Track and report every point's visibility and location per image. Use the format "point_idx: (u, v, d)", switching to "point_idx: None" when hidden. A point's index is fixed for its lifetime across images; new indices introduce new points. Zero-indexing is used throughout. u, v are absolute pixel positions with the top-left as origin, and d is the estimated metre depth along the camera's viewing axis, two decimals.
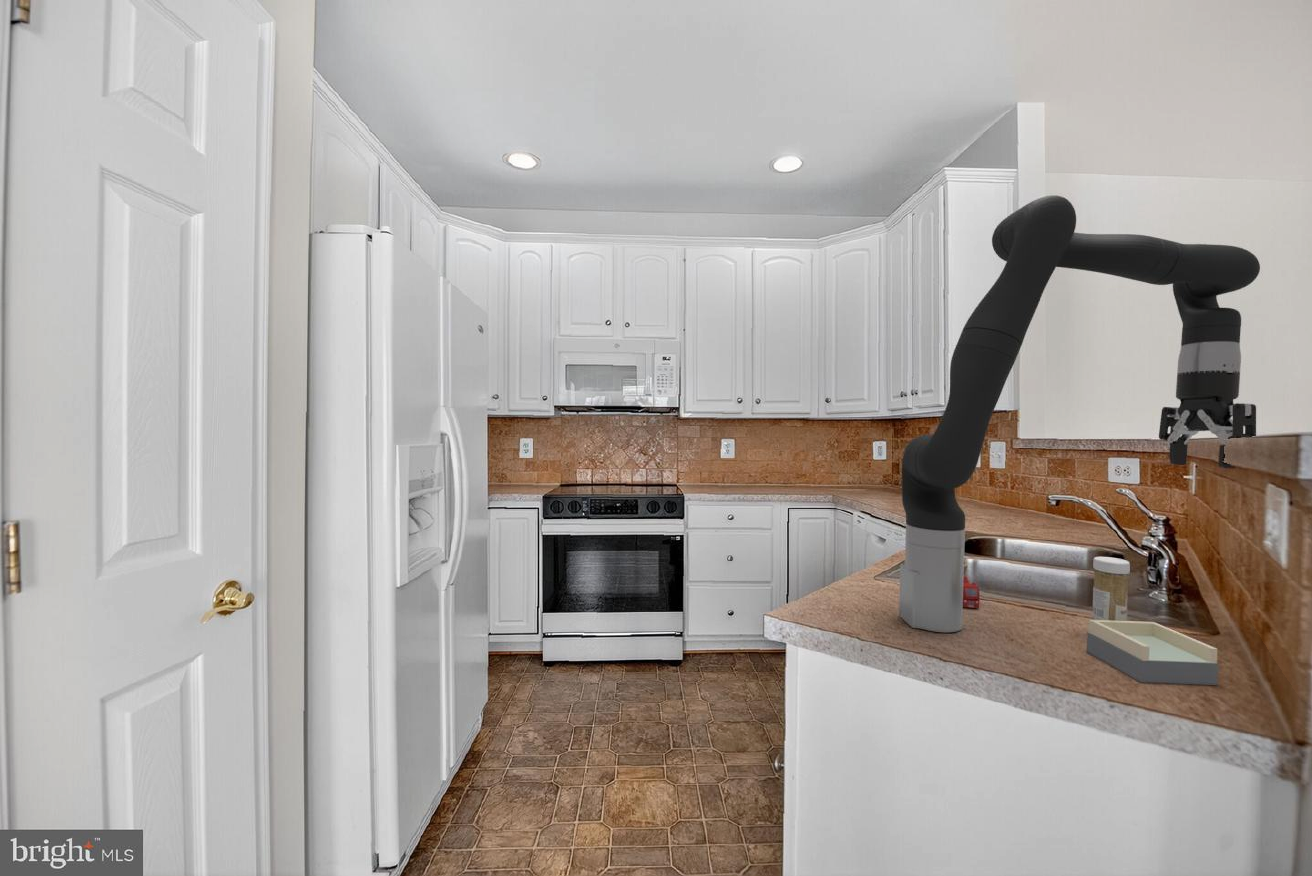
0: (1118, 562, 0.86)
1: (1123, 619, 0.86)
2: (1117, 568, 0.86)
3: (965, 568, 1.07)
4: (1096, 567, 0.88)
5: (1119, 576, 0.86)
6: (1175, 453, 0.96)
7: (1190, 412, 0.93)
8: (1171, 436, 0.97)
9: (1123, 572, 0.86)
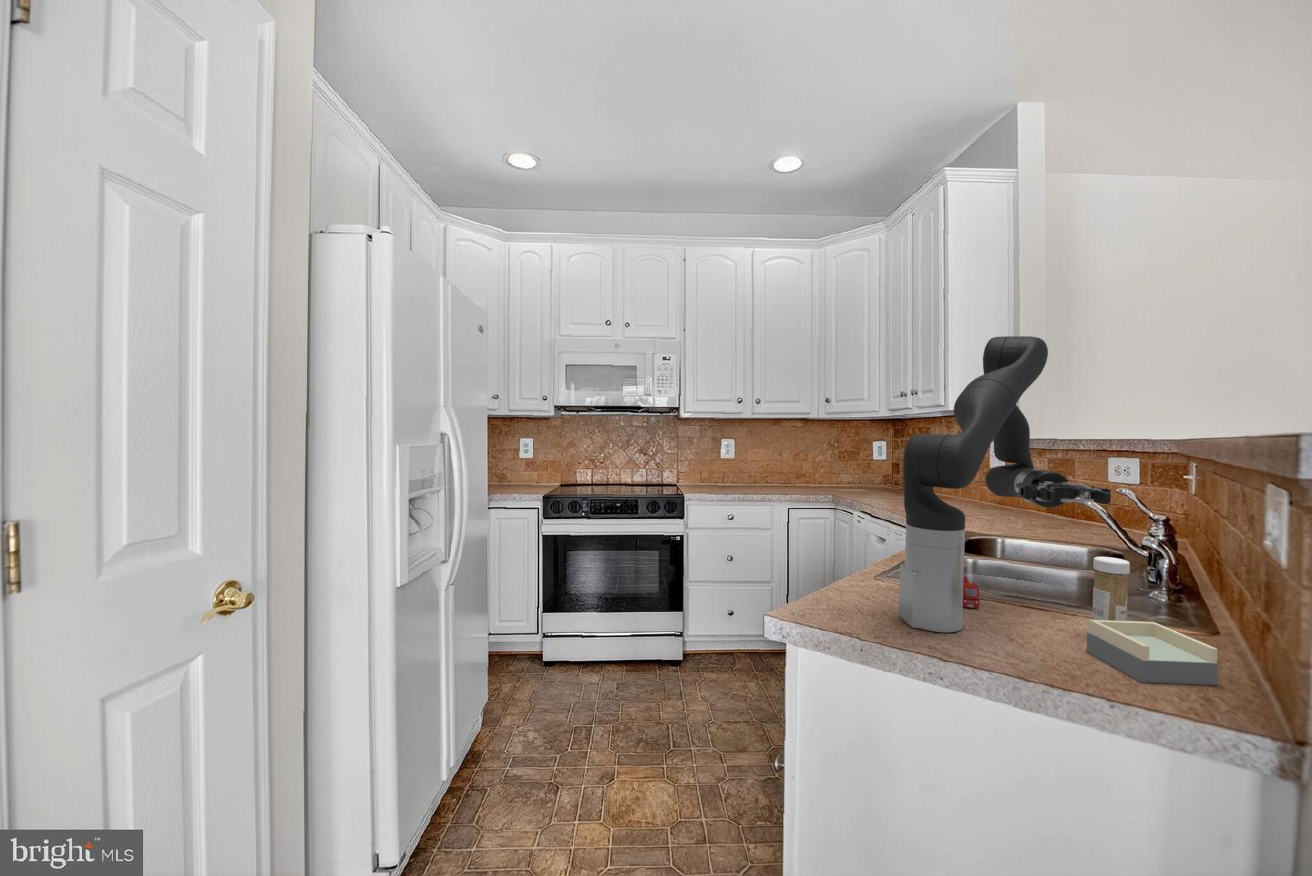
0: (1118, 562, 0.86)
1: (1123, 619, 0.86)
2: (1117, 568, 0.86)
3: (965, 568, 1.07)
4: (1096, 567, 0.88)
5: (1119, 576, 0.86)
6: None
7: (1052, 482, 1.08)
8: None
9: (1123, 572, 0.86)
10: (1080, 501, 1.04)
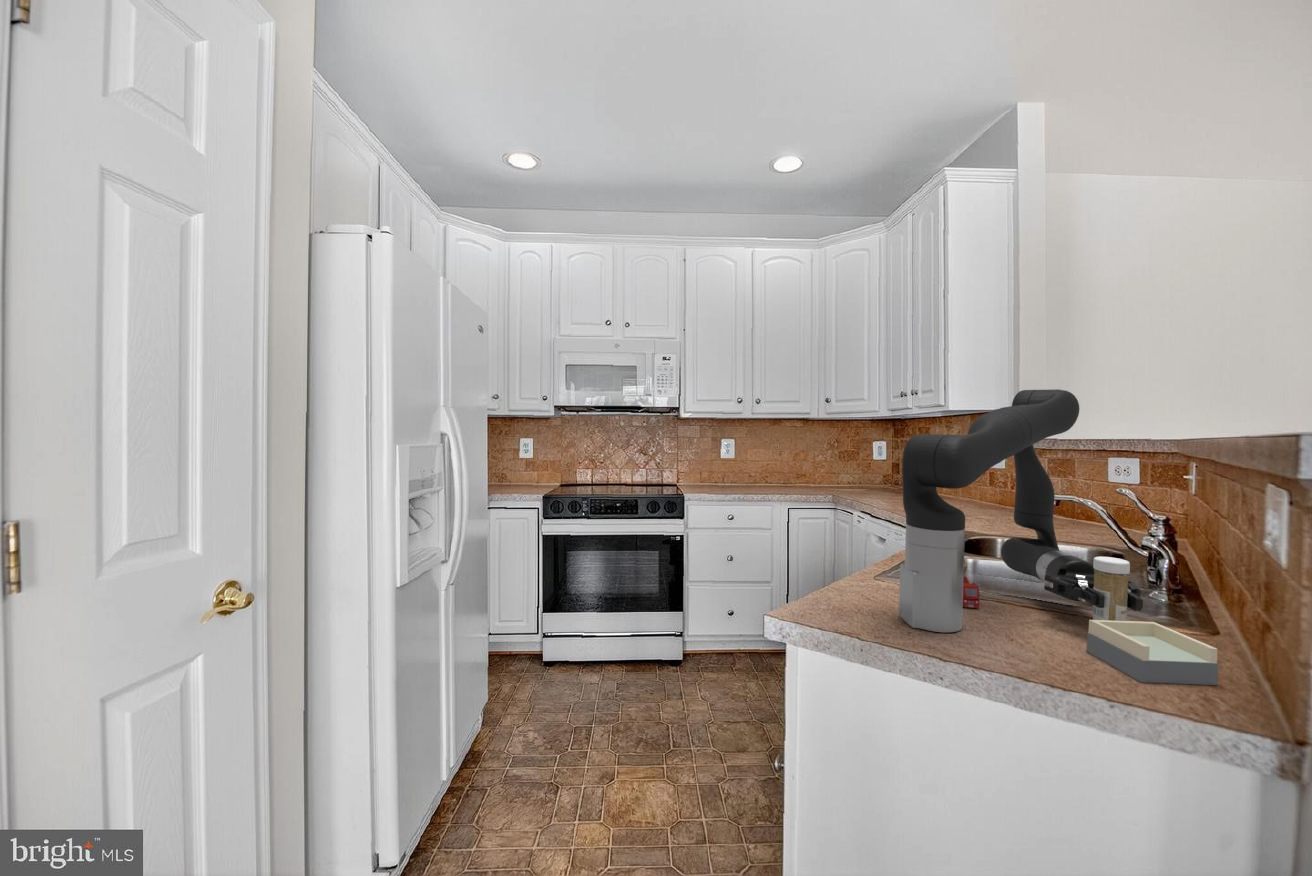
0: (1118, 562, 0.86)
1: (1123, 619, 0.86)
2: (1117, 568, 0.86)
3: (965, 568, 1.07)
4: (1096, 567, 0.88)
5: (1119, 576, 0.86)
6: None
7: (1081, 574, 0.96)
8: (1083, 585, 0.91)
9: (1123, 572, 0.86)
10: None
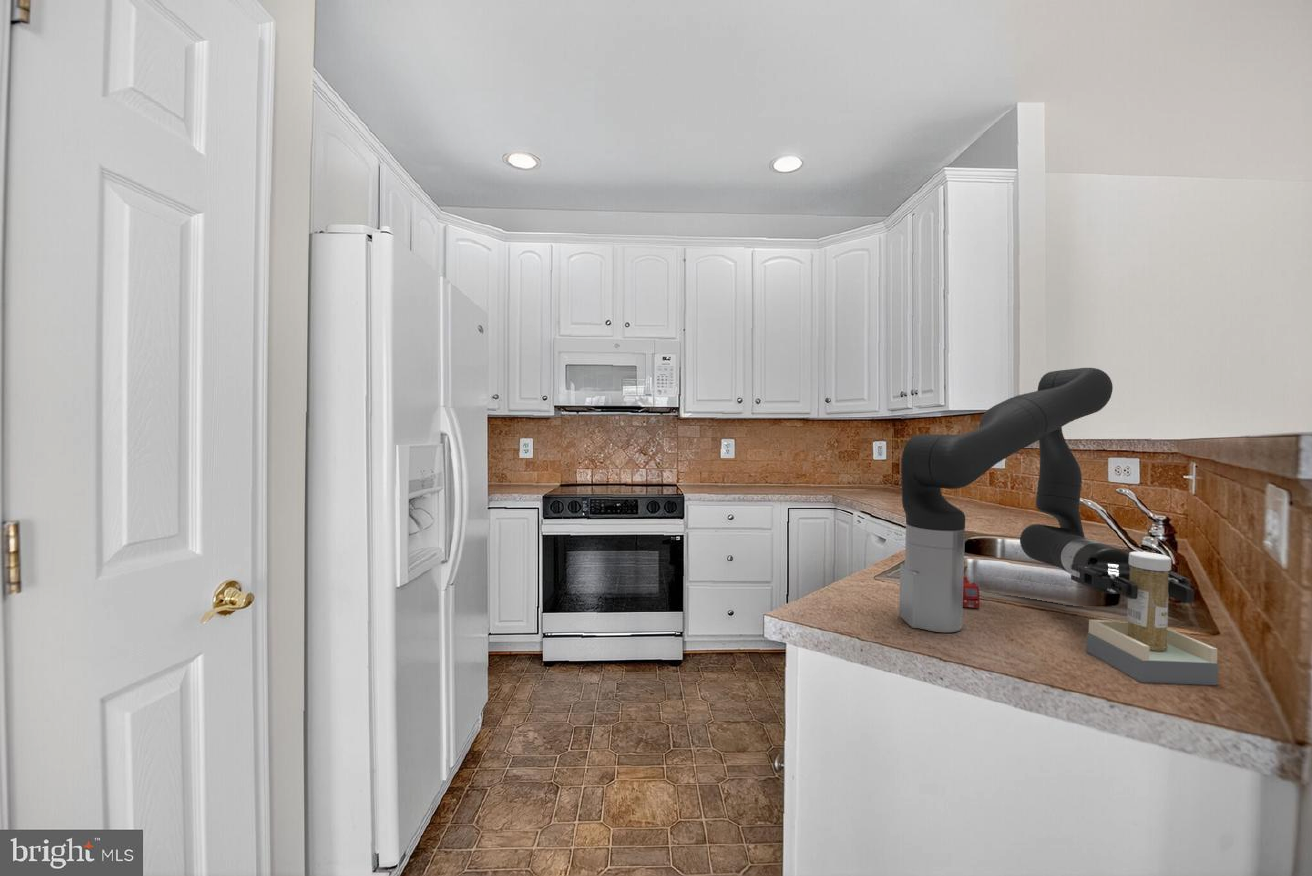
0: (1158, 557, 0.77)
1: (1163, 621, 0.77)
2: (1158, 564, 0.76)
3: (965, 568, 1.07)
4: (1132, 563, 0.79)
5: (1159, 574, 0.76)
6: None
7: (1115, 563, 0.86)
8: (1112, 574, 0.82)
9: (1164, 569, 0.76)
10: None
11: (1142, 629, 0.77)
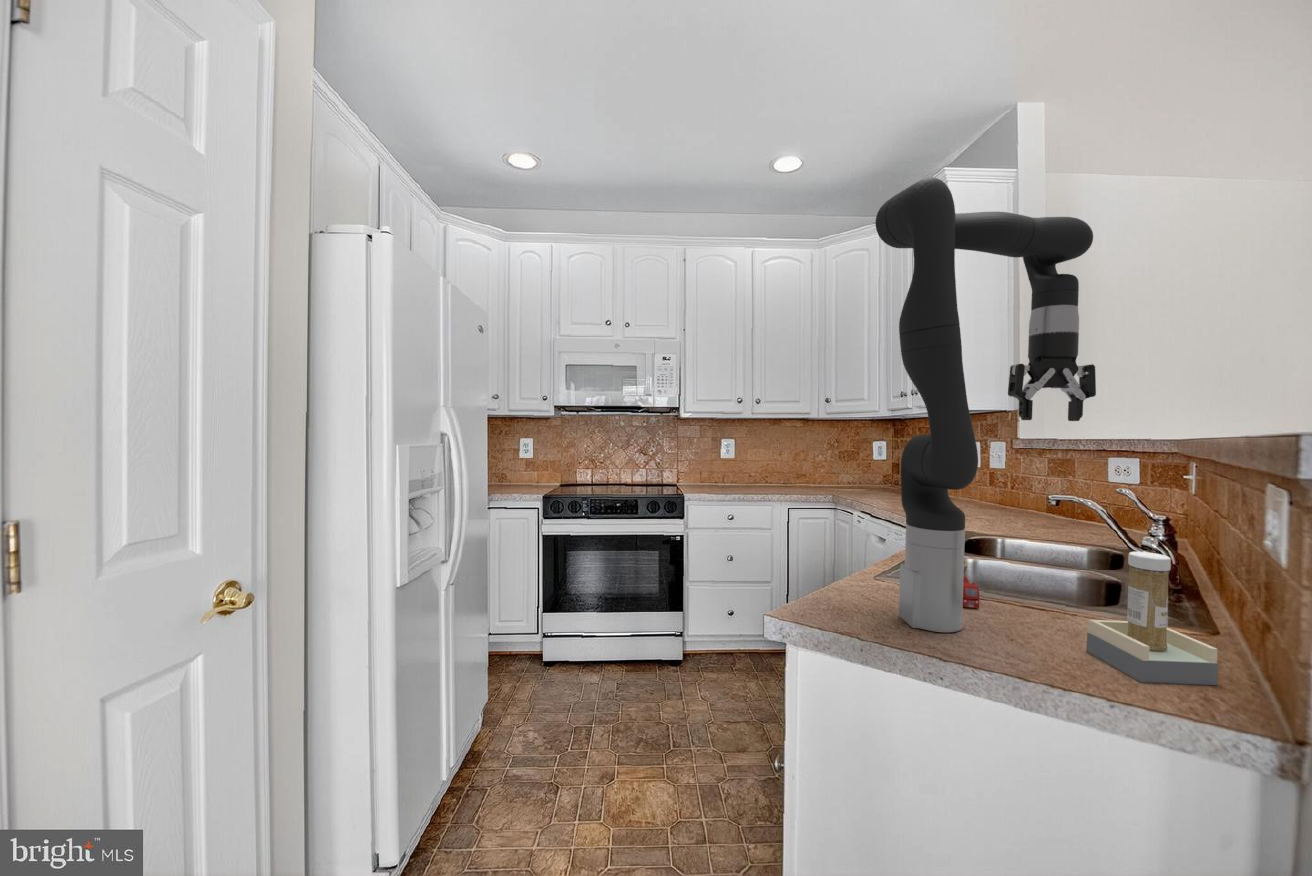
0: (1157, 557, 0.77)
1: (1163, 621, 0.77)
2: (1157, 564, 0.76)
3: (965, 568, 1.07)
4: (1132, 563, 0.79)
5: (1159, 574, 0.76)
6: (1031, 409, 1.00)
7: (1054, 370, 0.99)
8: (1029, 392, 1.00)
9: (1164, 568, 0.76)
10: (1061, 389, 1.02)
11: (1142, 629, 0.77)
